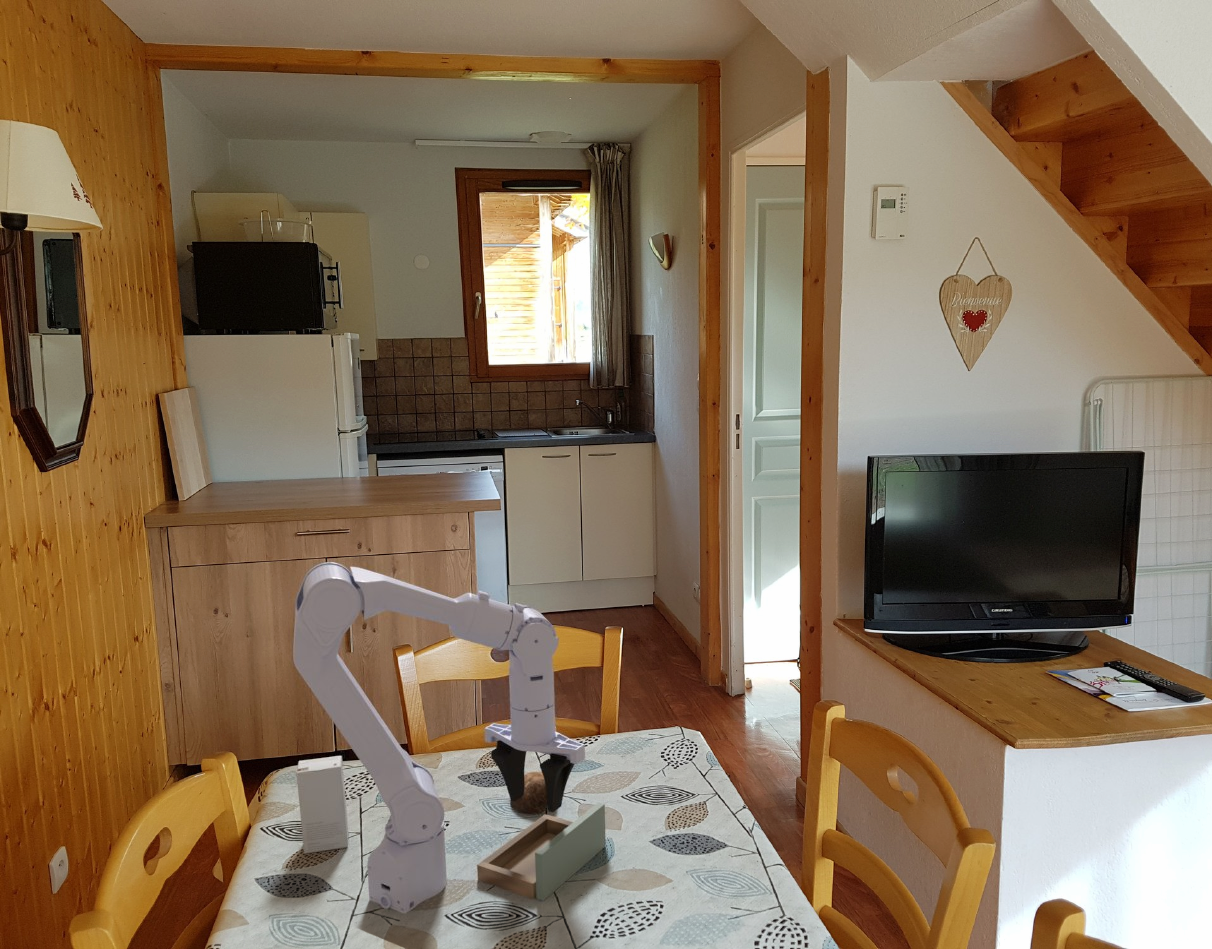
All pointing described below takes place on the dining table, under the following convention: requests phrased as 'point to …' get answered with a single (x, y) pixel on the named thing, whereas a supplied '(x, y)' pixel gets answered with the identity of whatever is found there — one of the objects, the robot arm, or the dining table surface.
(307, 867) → the dining table surface
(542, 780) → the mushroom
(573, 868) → the panel
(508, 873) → the crate
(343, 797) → the skincare box
